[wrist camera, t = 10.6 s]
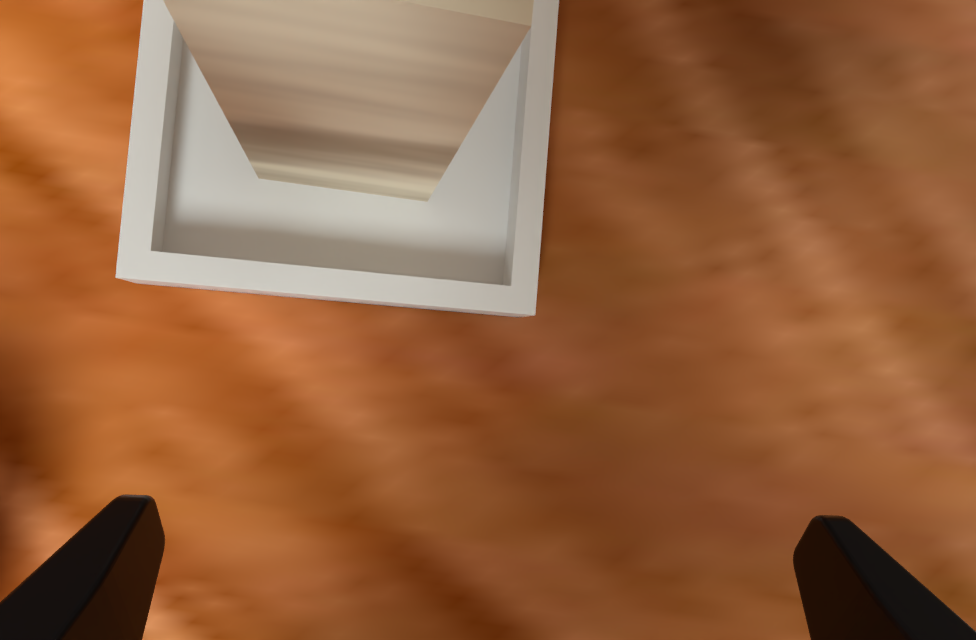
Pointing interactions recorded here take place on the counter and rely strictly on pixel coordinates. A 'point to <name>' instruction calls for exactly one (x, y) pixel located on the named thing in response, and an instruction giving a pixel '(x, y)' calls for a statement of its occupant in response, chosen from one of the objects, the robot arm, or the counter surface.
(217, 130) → the tray
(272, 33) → the beech block
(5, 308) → the counter surface
